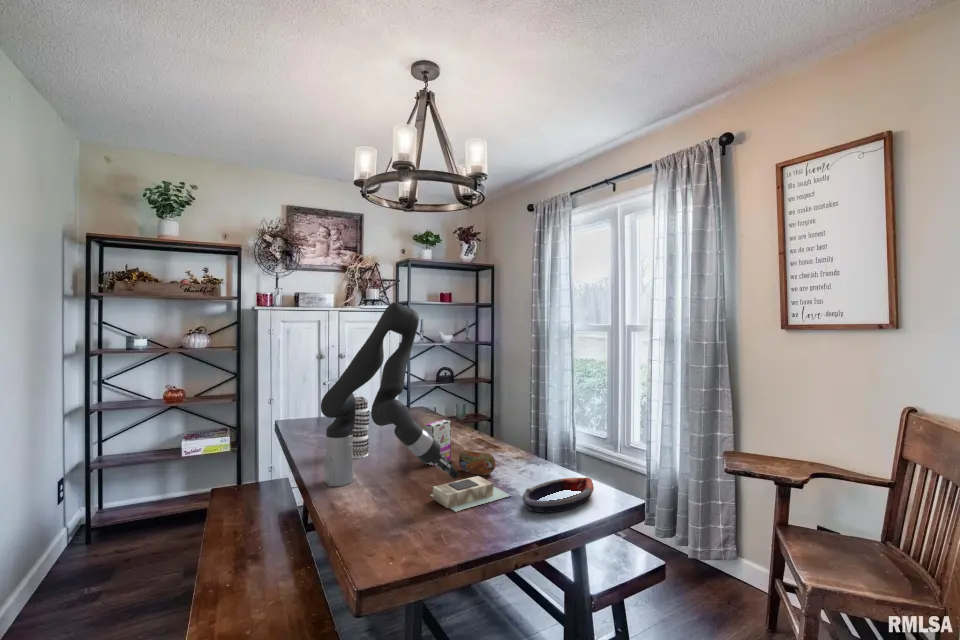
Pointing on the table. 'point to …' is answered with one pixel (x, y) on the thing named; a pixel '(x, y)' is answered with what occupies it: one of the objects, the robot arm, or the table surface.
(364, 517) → the table surface
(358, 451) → the decorative candle
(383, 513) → the table surface
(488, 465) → the tin
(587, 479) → the dark oval ring
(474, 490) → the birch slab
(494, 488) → the rubber mat
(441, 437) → the candy bar box
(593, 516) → the table surface
